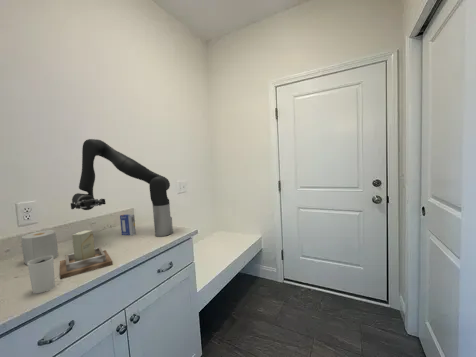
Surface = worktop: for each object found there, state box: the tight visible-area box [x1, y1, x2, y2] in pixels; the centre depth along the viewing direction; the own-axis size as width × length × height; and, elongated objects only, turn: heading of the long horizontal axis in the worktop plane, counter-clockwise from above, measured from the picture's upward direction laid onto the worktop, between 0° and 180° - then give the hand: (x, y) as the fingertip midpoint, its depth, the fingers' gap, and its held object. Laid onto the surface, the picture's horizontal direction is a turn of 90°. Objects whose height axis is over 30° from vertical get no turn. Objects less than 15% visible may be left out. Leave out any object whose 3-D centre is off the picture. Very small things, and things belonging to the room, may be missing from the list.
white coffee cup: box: [26, 256, 56, 294], centre depth 78 cm, size 7×7×10 cm
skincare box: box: [71, 229, 95, 262], centre depth 96 cm, size 6×4×12 cm
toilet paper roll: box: [21, 229, 59, 266], centre depth 105 cm, size 12×12×12 cm
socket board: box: [59, 246, 114, 280], centre depth 96 cm, size 17×17×4 cm
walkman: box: [119, 214, 137, 236], centre depth 136 cm, size 8×3×12 cm, turn 74°
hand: (90, 204), depth 109 cm, fingers open, 8 cm apart
